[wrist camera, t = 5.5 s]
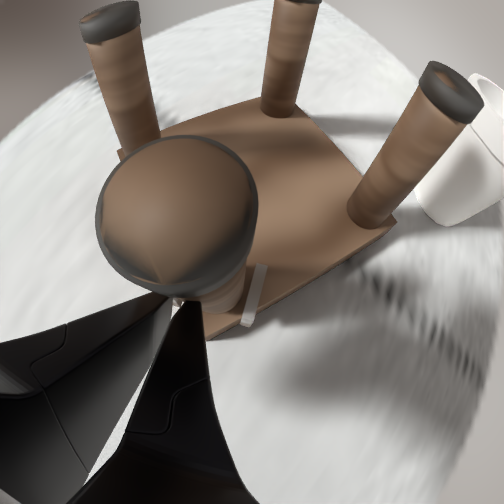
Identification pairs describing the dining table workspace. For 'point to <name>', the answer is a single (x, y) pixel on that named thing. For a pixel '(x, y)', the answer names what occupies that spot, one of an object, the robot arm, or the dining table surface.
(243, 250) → the hinged leg
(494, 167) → the foam cup
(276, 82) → the stool
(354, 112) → the dining table surface
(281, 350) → the dining table surface
